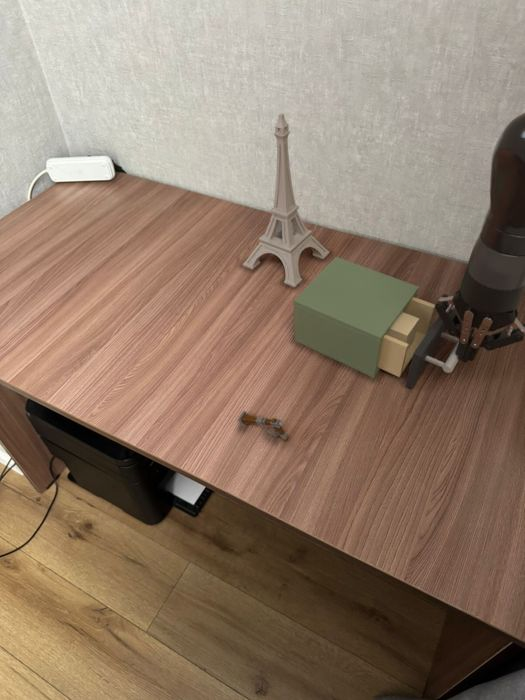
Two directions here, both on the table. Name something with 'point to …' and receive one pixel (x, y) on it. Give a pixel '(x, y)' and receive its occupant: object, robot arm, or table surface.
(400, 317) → the block
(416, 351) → the drawer
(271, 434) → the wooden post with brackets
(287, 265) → the eiffel tower
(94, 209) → the table surface
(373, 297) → the cabinet
